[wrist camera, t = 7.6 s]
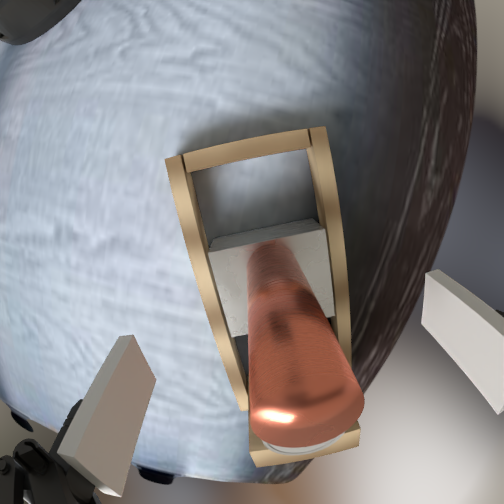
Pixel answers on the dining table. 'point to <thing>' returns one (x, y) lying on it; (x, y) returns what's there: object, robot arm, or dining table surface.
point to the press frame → (198, 254)
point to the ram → (287, 332)
